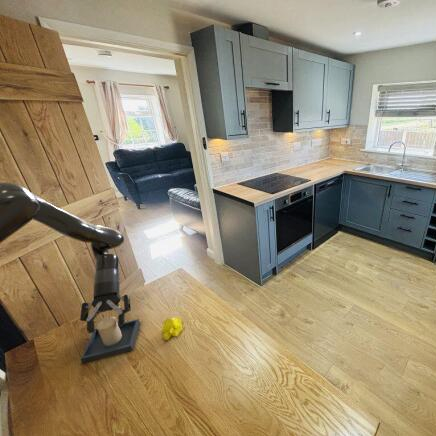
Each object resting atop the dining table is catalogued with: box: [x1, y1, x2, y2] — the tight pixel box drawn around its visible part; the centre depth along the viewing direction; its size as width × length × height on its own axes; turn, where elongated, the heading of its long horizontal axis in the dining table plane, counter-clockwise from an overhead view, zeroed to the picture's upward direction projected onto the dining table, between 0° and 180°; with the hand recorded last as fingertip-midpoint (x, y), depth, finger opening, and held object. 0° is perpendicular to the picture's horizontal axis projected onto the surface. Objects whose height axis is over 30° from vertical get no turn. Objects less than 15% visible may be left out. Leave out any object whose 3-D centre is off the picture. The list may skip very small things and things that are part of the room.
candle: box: [96, 316, 122, 346], centre depth 85 cm, size 6×6×10 cm
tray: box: [80, 318, 141, 364], centre depth 86 cm, size 15×13×2 cm
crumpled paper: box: [160, 317, 184, 341], centre depth 90 cm, size 6×8×8 cm
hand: (106, 329), depth 83 cm, fingers open, 8 cm apart
